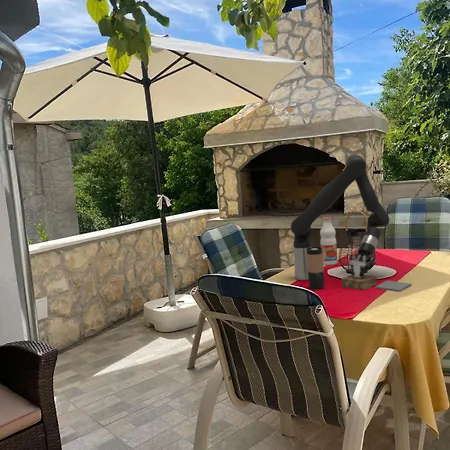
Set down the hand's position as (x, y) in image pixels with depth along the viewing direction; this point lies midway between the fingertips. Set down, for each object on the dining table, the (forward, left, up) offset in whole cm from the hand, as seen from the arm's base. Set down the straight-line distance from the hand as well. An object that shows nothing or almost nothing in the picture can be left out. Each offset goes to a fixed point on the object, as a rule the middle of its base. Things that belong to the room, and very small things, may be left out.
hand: (356, 275), depth 213 cm
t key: (-1, +2, -6) cm, 6 cm away
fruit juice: (-49, +20, -6) cm, 53 cm away
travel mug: (-11, -16, -6) cm, 20 cm away
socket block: (-1, +2, -6) cm, 6 cm away
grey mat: (+11, +12, -6) cm, 17 cm away
